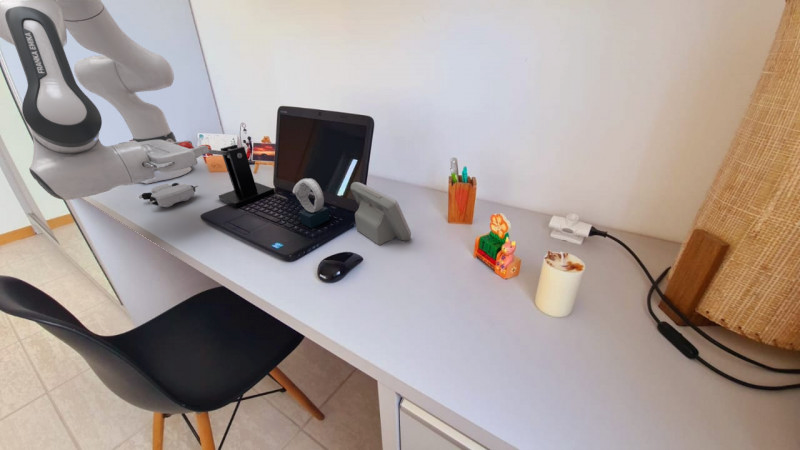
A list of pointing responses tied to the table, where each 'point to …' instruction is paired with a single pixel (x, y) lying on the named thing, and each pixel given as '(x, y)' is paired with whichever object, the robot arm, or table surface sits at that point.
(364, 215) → the digital clock
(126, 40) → the robot arm
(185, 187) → the robot toy
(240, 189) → the switch bracket
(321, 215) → the ring sculpture on base
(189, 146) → the switch lever
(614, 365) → the table surface
